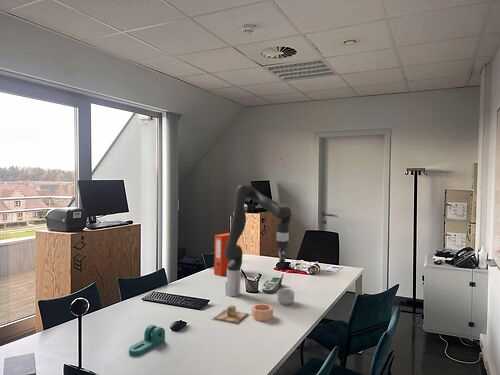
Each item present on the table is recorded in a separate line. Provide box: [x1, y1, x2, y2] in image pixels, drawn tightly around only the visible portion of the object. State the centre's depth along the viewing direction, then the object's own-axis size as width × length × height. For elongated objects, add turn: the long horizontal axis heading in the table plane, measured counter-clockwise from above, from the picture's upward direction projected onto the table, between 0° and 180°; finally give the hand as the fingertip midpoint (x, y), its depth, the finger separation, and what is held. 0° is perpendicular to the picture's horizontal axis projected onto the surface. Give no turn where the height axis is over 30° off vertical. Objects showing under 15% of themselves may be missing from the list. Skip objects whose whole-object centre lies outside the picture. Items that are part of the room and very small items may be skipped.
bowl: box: [251, 303, 274, 322], centre depth 208 cm, size 11×11×6 cm
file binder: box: [213, 232, 231, 277], centre depth 302 cm, size 8×17×32 cm, turn 142°
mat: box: [210, 309, 252, 326], centre depth 208 cm, size 17×17×1 cm
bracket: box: [128, 324, 166, 357], centre depth 171 cm, size 18×7×8 cm, turn 150°
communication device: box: [261, 273, 284, 295], centre depth 262 cm, size 12×24×9 cm, turn 158°
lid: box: [214, 305, 249, 323], centre depth 208 cm, size 14×14×6 cm
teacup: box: [276, 287, 295, 306], centre depth 234 cm, size 14×11×8 cm
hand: (281, 265), depth 225 cm, fingers open, 8 cm apart
